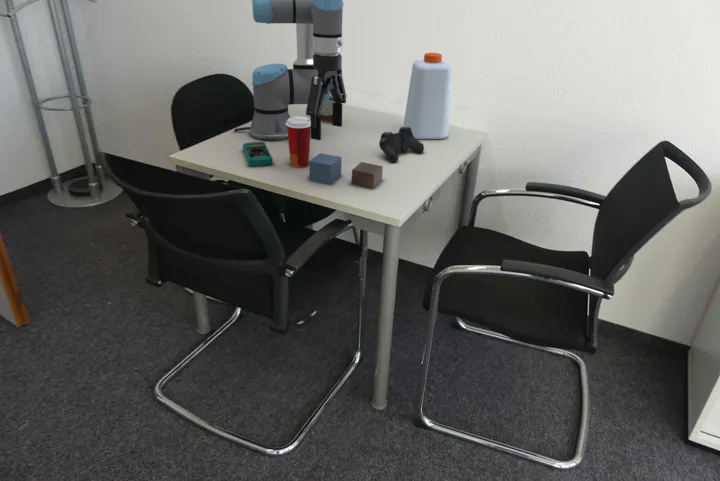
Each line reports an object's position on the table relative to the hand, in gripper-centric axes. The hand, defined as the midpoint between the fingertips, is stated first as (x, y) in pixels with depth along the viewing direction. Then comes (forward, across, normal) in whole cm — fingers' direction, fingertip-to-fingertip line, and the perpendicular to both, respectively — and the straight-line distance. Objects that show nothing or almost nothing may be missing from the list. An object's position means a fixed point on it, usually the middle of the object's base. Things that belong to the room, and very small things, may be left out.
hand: (326, 132), depth 148 cm
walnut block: (+14, +3, -12) cm, 18 cm away
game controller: (+14, +29, -13) cm, 34 cm away
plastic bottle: (+14, +54, -14) cm, 57 cm away
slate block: (+14, 0, 0) cm, 14 cm away
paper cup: (+14, +6, +12) cm, 20 cm away
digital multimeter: (+14, +4, +26) cm, 30 cm away
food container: (+14, +51, +24) cm, 58 cm away
